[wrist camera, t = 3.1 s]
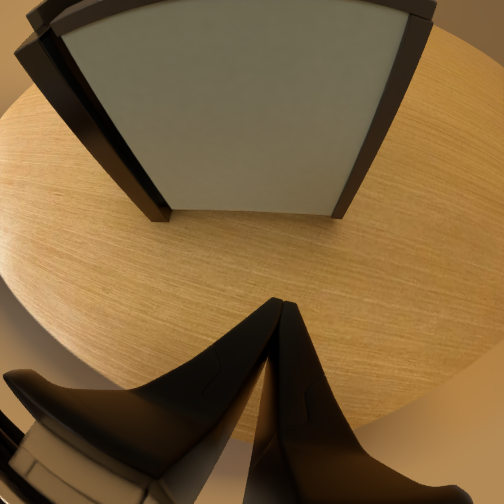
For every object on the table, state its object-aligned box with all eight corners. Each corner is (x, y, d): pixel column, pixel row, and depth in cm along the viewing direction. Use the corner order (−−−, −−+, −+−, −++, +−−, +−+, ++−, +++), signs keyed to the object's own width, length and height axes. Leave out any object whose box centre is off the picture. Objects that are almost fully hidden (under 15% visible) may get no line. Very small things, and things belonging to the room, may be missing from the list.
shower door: (341, 219, 19) (441, 4, 4) (171, 212, 20) (48, 23, 5) (341, 204, 19) (426, -10, 4) (174, 197, 20) (65, 8, 5)
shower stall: (338, 230, 20) (452, -10, 3) (144, 222, 21) (-7, 44, 4) (327, 102, 24) (352, -66, 7) (178, 101, 25) (126, -51, 8)
